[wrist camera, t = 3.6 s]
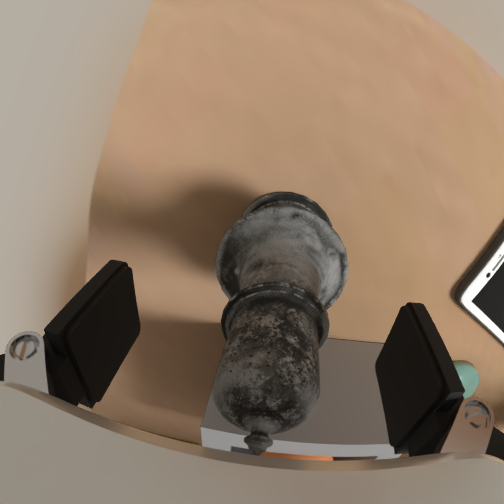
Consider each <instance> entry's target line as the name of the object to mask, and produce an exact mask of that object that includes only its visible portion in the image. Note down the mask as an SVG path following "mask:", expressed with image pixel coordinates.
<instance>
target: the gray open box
mask: <svg viewBox="0 0 504 504" xmlns="http://www.w3.org/2000/svg"><path fill="white" fill-rule="evenodd" d="M383 346H384V344H383V343H371V342H360V341H349V340H339V339H330V338H326V340H325V342H324V344H323V346H322V347H321V348H320V349H319V367H320V396H319V400H318V403H317V407H316V410H315V411H314V412H313V414H312V415H311V416H310V417H309V418H308V419H307V420H306V421H305V422H304V423H303V424H301V425H300V426H298V427H296V428H294V429H291V430H289V431H285V432H282V433H277V434H270V435H269V438H270V439H271V440H273V445H272V446H270V447H267V450H266V451H267V452H275V453H285V454H296V455H309V456H332V457H333V461H352V460H376V459H391V458H399V457H400V456H401V455H402V454H395V453H394V447H392V446H390V443H389V438H388V432H387V426H386V420H385V415H384V410H383V405H382V399H381V395H380V390H379V385H378V380H377V376H376V371H375V363H376V360H377V358H378V356H379V354H380V352H381V350H382V348H383ZM200 428H201V439H202V446H204V447H209V448H214V449H219V450H224V451H230V452H236V453H243V454H250V455H253V454H252V452H251V451H250V450H249V449H248V445H247V444H246V443H244V438H245V437H246V436H248V435H250V434H251V433H250V432H247V431H245V430H242V429H240V428H238V427H236V426H235V425H233V424H231V423H230V422H228V421H227V420H226V419H225V418H224V417H223V416H222V415H221V413H220V412H219V410H218V409H217V407H216V405H215V403H214V400H213V388H212V391H211V394H210V398H209V401H208V404H207V407H206V410H205V414H204V417H203V420H202V423H201V427H200Z"/></svg>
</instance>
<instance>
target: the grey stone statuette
mask: <svg viewBox="0 0 504 504" xmlns="http://www.w3.org/2000/svg"><path fill="white" fill-rule="evenodd" d="M215 263H216V273H217V278H218V281H219V283H220V286H221V288H222V290H223V292H224V293H225V294H226V296H227V297H228V299H229V302H228V303H227V305H226V306H225V308H224V310H223V314H222V318H221V326H222V332H223V335H224V337H225V339H226V344H225V347H224V350H223V353H222V357H221V360H220V363H219V366H218V369H217V373H216V376H215V379H214V383H213V400H214V403H215V405H216V407H217V409H218V410H219V412H220V413H221V415H222V416H223V417H224V418H225V419H226V420H227V421H228V422H230V423H231V424H233V425H235V426H236V427H238V428H240V429H242V430H245V431H247V432H250V433H251V434H250V435H248V436H246V437H245V438H244V443H246V444H247V445H248V449H249V450H250V451H251V452H252V454H253V455H257V456H260V454H261V453H263V452H265V451H266V450H267V447H270V446H272V445H273V440H271V439H270V438H269V435H270V434H277V433H282V432H285V431H289V430H291V429H294V428H296V427H298V426H300V425H301V424H303V423H304V422H305V421H306V420H307V419H308V418H309V417H310V416H311V415H312V414H313V412H314V411H315V410H316V407H317V403H318V400H319V396H320V367H319V349H320V348H321V347H322V346H323V344H324V342H325V340H326V338H327V336H328V331H329V319H328V313H327V311H326V310H327V309H328V308H329V307H331V306H332V304H333V303H334V302H335V301H336V300H337V298H338V297H339V296H340V295H341V292H342V290H343V288H344V286H345V284H346V281H347V274H348V267H349V266H348V259H347V253H346V249H345V247H344V245H343V243H342V241H341V239H340V237H339V235H338V234H337V233H336V232H335V231H334V229H333V228H332V225H331V222H330V220H329V218H328V216H327V214H326V213H325V211H324V210H323V209H322V208H321V207H320V206H319V205H318V204H317V203H316V202H314V201H312V200H311V199H309V198H307V197H306V196H303V195H300V194H296V193H293V192H277V193H272V194H268V195H265V196H263V197H261V198H260V199H258V200H256V201H254V202H253V203H252V204H251V205H250V206H249V207H248V208H247V209H246V210H245V212H244V213H243V215H242V217H241V218H240V219H238V220H237V221H236V222H235V223H234V224H233V225H232V226H231V227H230V228H229V229H228V230H227V231H226V233H225V235H224V237H223V239H222V240H221V242H220V244H219V246H218V250H217V255H216V261H215Z"/></svg>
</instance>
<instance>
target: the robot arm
mask: <svg viewBox="0 0 504 504" xmlns="http://www.w3.org/2000/svg"><path fill="white" fill-rule="evenodd" d="M44 331H45V334H44V336H43V337H41V335H40V334H38V333H36V332H32V331H27V332H22V333H19V334H17V335H16V336H14V337H13V338H12V339H11V340H10V341H9V343H8V344H7V346H6V351H5V354H2V355H0V504H504V433H502V432H501V431H500V430H498V429H497V428H495V427H494V419H495V417H494V412H493V410H492V408H491V407H490V405H489V404H488V403H487V402H486V401H485V400H483V399H481V398H479V397H474V396H471V397H467V398H466V399H464V397H463V394H464V393H465V389H464V387H463V384H462V382H461V380H460V377H459V375H458V373H457V370H456V368H455V366H454V364H453V361H452V359H451V357H450V355H449V353H448V351H447V349H446V346H445V344H444V342H443V340H442V338H441V336H440V334H439V332H438V330H437V328H436V326H435V324H434V322H433V321H432V319H431V317H430V315H429V313H428V311H427V309H426V307H425V306H424V304H421V303H411V302H408V303H407V304H406V305H405V306H402V307H401V309H400V311H399V313H398V315H397V318H396V320H395V322H394V324H393V327H392V329H391V331H390V333H389V335H388V337H387V339H386V342H385V344H384V346H383V348H382V350H381V352H380V354H379V356H378V358H377V360H376V363H375V371H376V376H377V380H378V385H379V390H380V395H381V399H382V405H383V410H384V415H385V420H386V426H387V432H388V438H389V443H390V446H392V447H394V453H395V454H404V453H409V457H403V458H391V459H376V460H352V461H325V460H301V459H286V458H275V457H266V456H257V455H250V454H243V453H236V452H230V451H224V450H219V449H214V448H209V447H204V446H199V445H195V444H190V443H186V442H182V441H178V440H174V439H170V438H166V437H163V436H159V435H156V434H152V433H149V432H146V431H142V430H139V429H136V428H133V427H130V426H127V425H124V424H121V423H118V422H116V421H113V420H110V419H108V418H105V417H102V416H100V415H97V414H94V413H92V412H89V411H87V410H84V409H82V408H79V407H77V406H78V404H79V403H80V404H82V405H85V406H87V407H89V408H93V406H94V404H95V403H96V402H99V401H101V399H102V397H103V396H104V394H105V392H106V390H107V388H108V387H109V385H110V383H111V381H112V380H113V378H114V376H115V374H116V373H117V371H118V369H119V367H120V366H121V364H122V362H123V361H124V359H125V357H126V355H127V354H128V352H129V350H130V349H131V347H132V345H133V344H134V342H135V340H136V339H137V337H138V335H139V333H140V321H139V315H138V309H137V302H136V296H135V289H134V281H133V274H132V269H131V268H130V267H128V264H127V263H126V262H122V261H116V260H110V261H109V262H108V263H107V264H106V265H105V266H104V267H103V268H102V269H101V270H100V271H99V272H98V273H97V274H96V275H95V276H94V277H93V278H92V279H91V280H90V281H89V282H88V283H87V284H86V285H85V286H84V287H83V288H82V289H81V290H80V291H79V292H78V293H77V294H76V295H75V296H74V297H73V298H72V299H71V300H70V301H69V302H68V303H67V305H66V306H65V307H64V308H63V309H62V310H61V311H60V312H59V313H58V314H57V315H56V316H55V317H54V319H53V320H52V321H51V322H50V323H49V324H48V325H47V326H46V327H45V329H44Z"/></svg>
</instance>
